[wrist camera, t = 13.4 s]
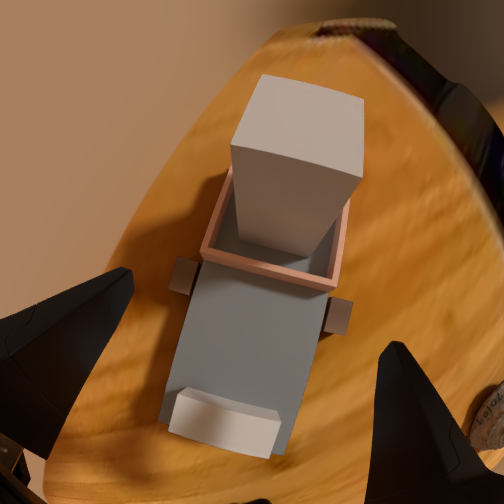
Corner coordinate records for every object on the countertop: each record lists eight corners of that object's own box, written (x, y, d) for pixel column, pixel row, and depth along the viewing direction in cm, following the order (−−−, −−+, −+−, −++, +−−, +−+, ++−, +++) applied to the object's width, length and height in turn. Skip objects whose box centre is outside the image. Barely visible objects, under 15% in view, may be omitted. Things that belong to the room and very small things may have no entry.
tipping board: (281, 450, 15) (288, 471, 12) (161, 417, 16) (144, 431, 12) (342, 188, 22) (355, 164, 18) (240, 163, 22) (239, 135, 19)
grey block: (308, 258, 19) (362, 177, 9) (239, 240, 19) (229, 144, 9) (320, 197, 20) (363, 99, 11) (257, 181, 20) (262, 74, 11)
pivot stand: (335, 333, 19) (345, 335, 17) (177, 291, 20) (167, 288, 18) (343, 303, 20) (353, 301, 18) (186, 261, 21) (177, 255, 18)
